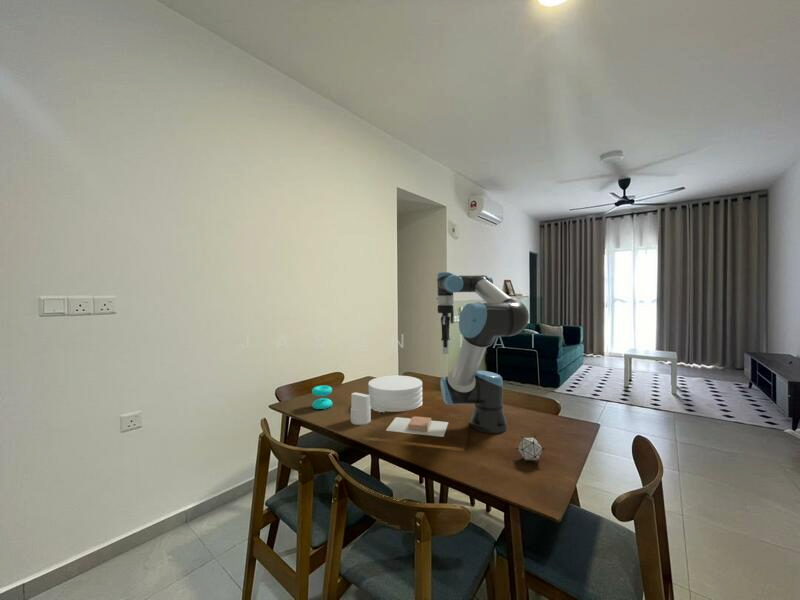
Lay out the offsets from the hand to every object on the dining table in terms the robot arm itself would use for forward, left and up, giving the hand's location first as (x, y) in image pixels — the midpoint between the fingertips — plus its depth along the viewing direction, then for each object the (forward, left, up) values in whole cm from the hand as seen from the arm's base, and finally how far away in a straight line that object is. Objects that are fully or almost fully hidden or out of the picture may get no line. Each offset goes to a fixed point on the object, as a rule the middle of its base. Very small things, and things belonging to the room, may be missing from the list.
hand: (445, 353), depth 159 cm
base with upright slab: (+36, +20, -29) cm, 50 cm away
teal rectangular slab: (+8, +18, -26) cm, 33 cm away
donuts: (+62, +8, -29) cm, 69 cm away
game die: (-34, +38, -29) cm, 59 cm away
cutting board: (+9, +22, -28) cm, 37 cm away
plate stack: (+27, -6, -29) cm, 40 cm away
